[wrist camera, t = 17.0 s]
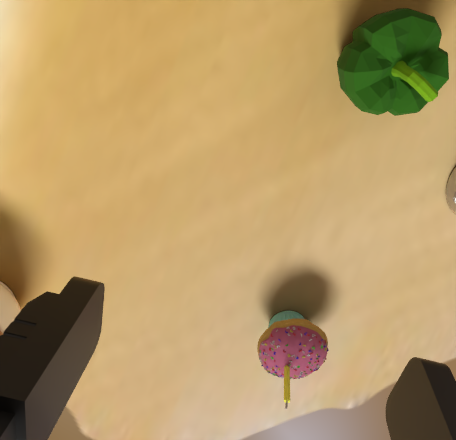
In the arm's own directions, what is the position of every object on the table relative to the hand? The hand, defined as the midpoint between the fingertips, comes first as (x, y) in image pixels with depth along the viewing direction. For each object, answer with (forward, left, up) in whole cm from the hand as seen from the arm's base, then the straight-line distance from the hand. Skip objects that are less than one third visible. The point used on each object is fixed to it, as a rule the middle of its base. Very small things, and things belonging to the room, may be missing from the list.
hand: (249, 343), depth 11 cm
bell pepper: (-13, -5, -34) cm, 37 cm away
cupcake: (-13, +28, -34) cm, 46 cm away
